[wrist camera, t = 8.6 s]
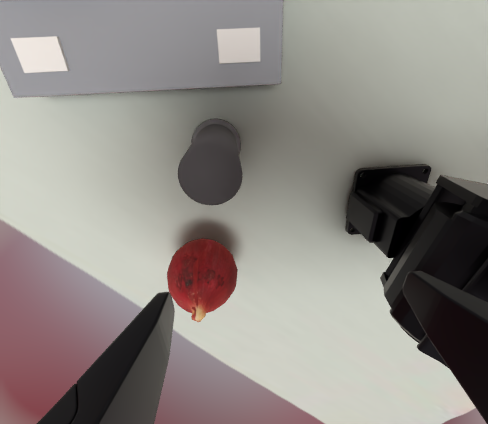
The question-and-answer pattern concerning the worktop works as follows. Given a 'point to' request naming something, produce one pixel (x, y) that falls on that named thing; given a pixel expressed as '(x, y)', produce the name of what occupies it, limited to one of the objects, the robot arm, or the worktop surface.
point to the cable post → (212, 163)
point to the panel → (138, 45)
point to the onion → (201, 277)
